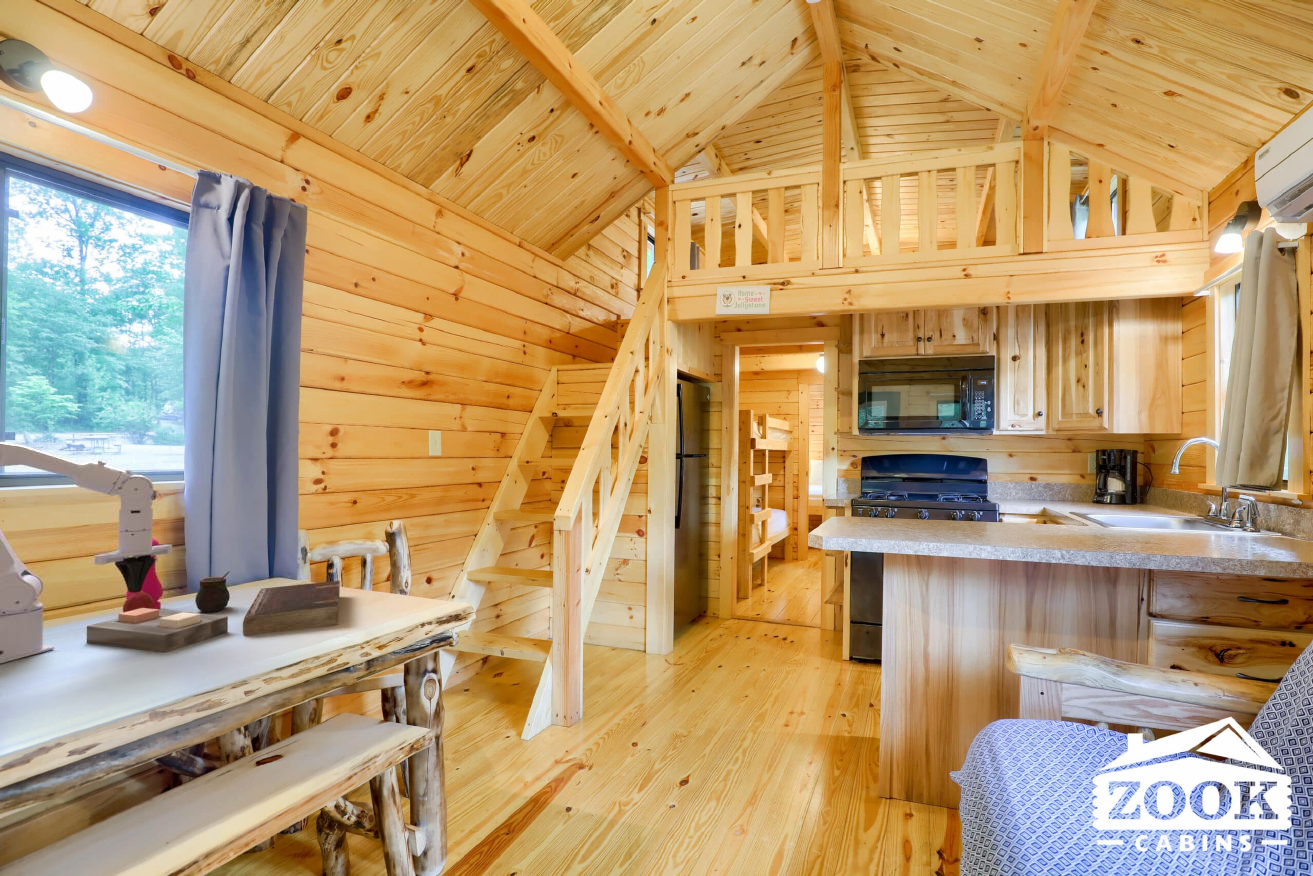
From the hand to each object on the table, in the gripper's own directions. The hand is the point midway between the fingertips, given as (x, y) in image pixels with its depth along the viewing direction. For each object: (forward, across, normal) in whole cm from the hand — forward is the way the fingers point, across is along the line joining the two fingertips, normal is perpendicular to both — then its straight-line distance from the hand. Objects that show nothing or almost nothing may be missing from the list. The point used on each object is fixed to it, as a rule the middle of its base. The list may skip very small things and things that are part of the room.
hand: (134, 591), depth 138 cm
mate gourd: (+10, +22, +4) cm, 24 cm away
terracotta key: (+8, +1, +1) cm, 8 cm away
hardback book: (+10, +25, -19) cm, 33 cm away
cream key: (+8, +2, -11) cm, 14 cm away
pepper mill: (+10, +15, +19) cm, 26 cm away
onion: (+10, +8, +11) cm, 17 cm away
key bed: (+10, +2, -5) cm, 11 cm away
